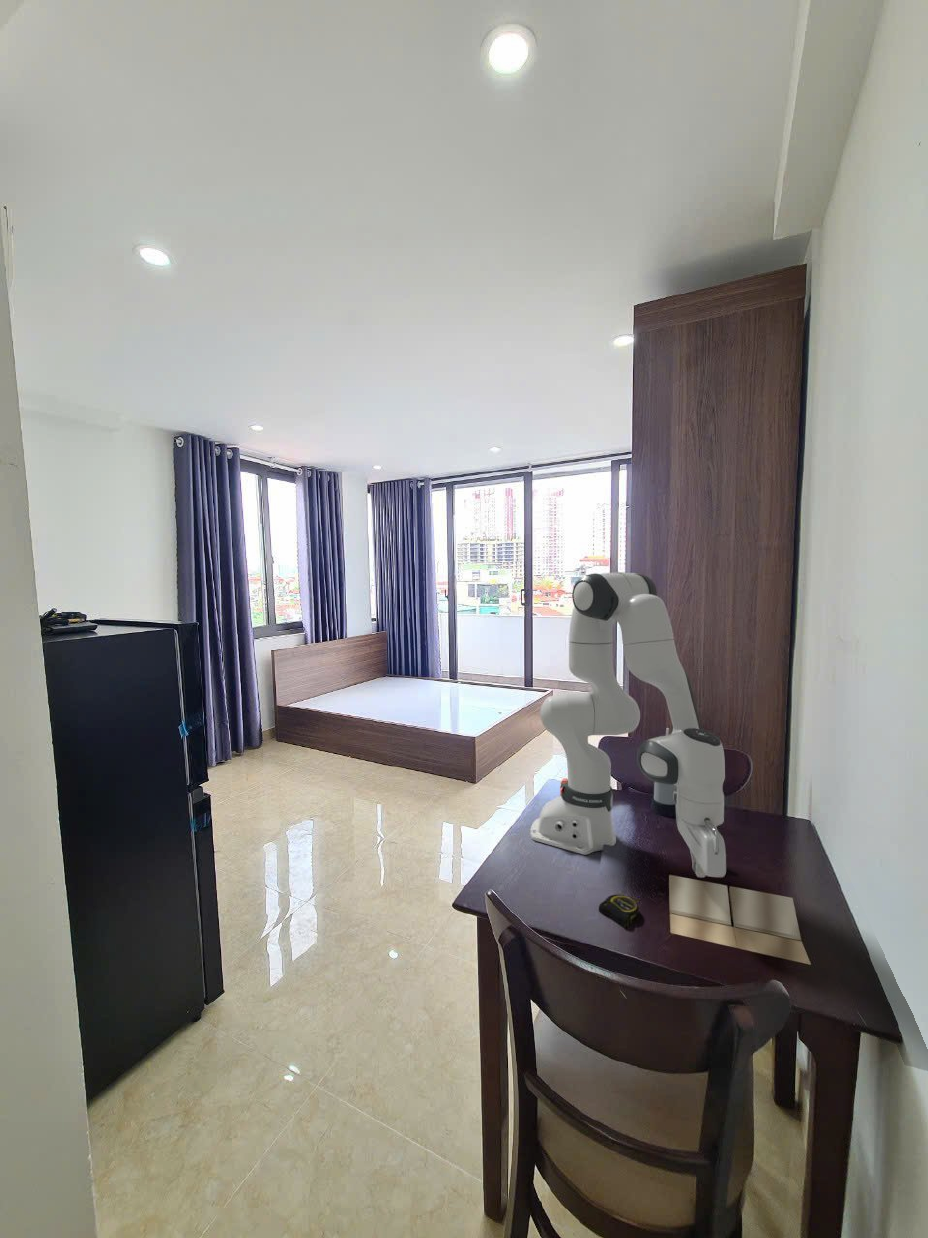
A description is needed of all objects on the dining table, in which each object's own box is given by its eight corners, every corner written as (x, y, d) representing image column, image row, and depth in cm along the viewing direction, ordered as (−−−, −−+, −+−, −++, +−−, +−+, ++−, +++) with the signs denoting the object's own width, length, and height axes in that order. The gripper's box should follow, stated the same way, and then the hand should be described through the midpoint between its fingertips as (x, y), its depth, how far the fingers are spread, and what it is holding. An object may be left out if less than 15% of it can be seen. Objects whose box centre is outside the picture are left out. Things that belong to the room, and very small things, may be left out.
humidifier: (679, 806, 151) (681, 726, 150) (681, 818, 144) (683, 733, 142) (651, 803, 154) (652, 723, 153) (651, 814, 147) (652, 731, 145)
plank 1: (669, 916, 101) (669, 912, 100) (669, 878, 107) (669, 874, 106) (730, 929, 97) (731, 925, 96) (726, 889, 103) (727, 885, 102)
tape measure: (596, 918, 101) (596, 900, 101) (618, 906, 105) (618, 889, 104) (624, 938, 95) (624, 919, 95) (646, 924, 99) (647, 906, 99)
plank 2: (733, 930, 97) (734, 926, 96) (729, 890, 103) (729, 886, 102) (799, 944, 93) (801, 940, 92) (791, 902, 99) (792, 897, 98)
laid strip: (670, 940, 94) (670, 932, 94) (669, 920, 100) (669, 913, 100) (810, 973, 86) (811, 964, 86) (801, 949, 92) (801, 941, 92)
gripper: (736, 833, 92) (734, 905, 93) (700, 790, 113) (698, 850, 113) (700, 831, 93) (699, 903, 94) (671, 789, 114) (670, 848, 114)
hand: (698, 873), depth 104 cm, fingers closed
